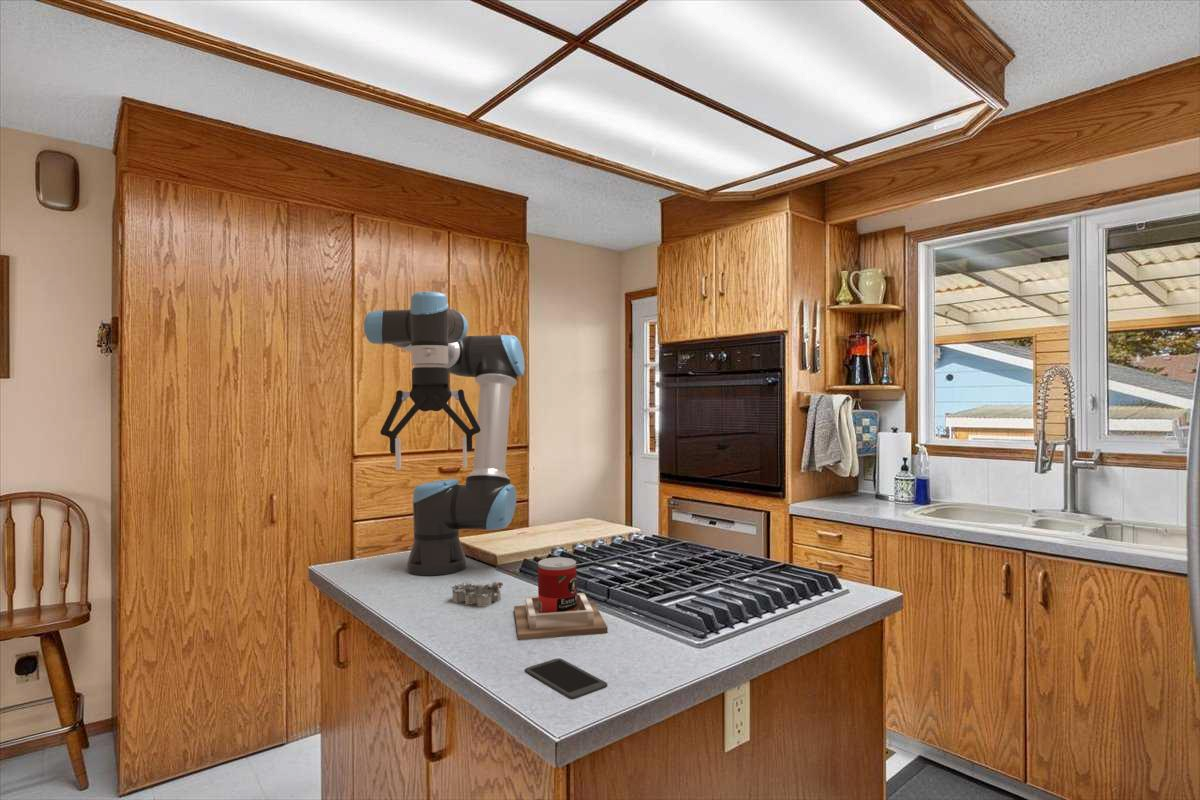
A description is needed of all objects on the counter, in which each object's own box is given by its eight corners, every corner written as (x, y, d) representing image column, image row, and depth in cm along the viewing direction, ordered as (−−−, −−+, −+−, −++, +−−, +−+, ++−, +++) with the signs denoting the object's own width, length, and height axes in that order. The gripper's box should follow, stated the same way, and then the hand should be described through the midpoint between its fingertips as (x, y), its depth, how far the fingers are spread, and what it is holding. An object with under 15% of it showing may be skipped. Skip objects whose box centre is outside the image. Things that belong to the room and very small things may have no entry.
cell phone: (571, 702, 100) (571, 697, 100) (522, 672, 111) (522, 668, 111) (609, 688, 105) (609, 683, 105) (558, 661, 116) (558, 657, 116)
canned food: (563, 625, 130) (562, 568, 130) (530, 618, 134) (529, 563, 134) (584, 613, 136) (584, 560, 136) (553, 607, 140) (552, 555, 140)
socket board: (514, 610, 142) (513, 594, 142) (593, 605, 145) (592, 589, 145) (518, 639, 125) (518, 621, 125) (607, 632, 128) (607, 614, 128)
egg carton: (505, 600, 150) (505, 582, 150) (483, 610, 144) (482, 591, 144) (470, 593, 156) (470, 575, 156) (446, 602, 149) (446, 583, 149)
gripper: (364, 366, 134) (366, 472, 134) (490, 365, 138) (492, 467, 139) (370, 368, 142) (372, 468, 142) (490, 367, 146) (492, 464, 146)
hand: (432, 468), depth 140 cm, fingers open, 13 cm apart
